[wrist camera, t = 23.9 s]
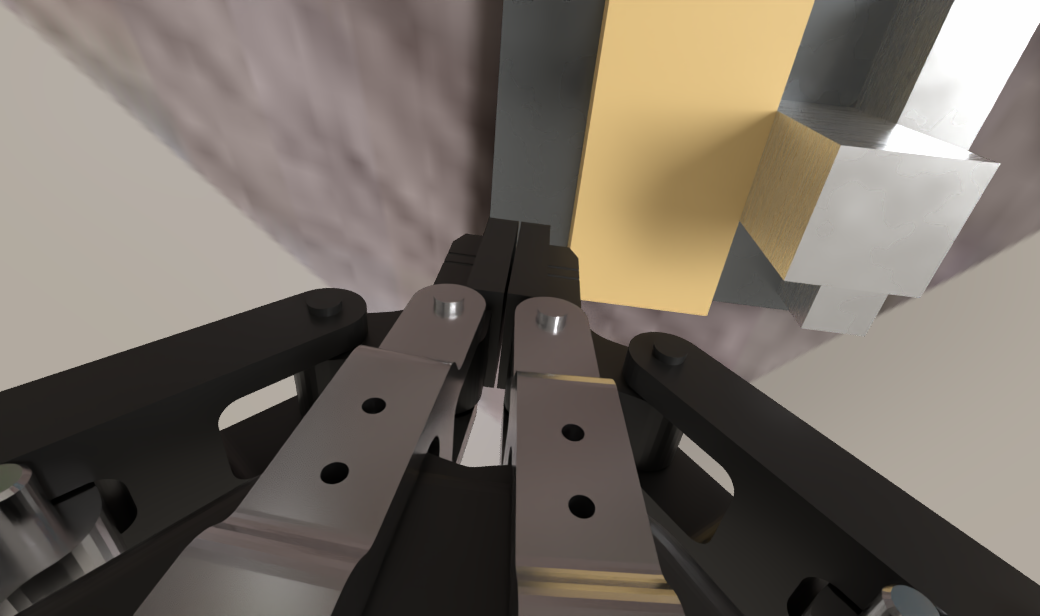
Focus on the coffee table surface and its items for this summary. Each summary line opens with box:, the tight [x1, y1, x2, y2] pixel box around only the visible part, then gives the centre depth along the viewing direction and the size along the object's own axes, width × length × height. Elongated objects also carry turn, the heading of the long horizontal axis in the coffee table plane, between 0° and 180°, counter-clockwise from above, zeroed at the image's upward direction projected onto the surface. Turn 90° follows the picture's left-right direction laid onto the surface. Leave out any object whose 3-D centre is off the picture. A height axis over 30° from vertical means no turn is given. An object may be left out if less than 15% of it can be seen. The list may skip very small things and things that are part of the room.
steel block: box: [740, 100, 1000, 298], centre depth 19 cm, size 4×4×9 cm
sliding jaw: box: [567, 0, 815, 316], centre depth 22 cm, size 7×14×3 cm, turn 175°
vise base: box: [490, 0, 1040, 336], centre depth 23 cm, size 20×16×5 cm
